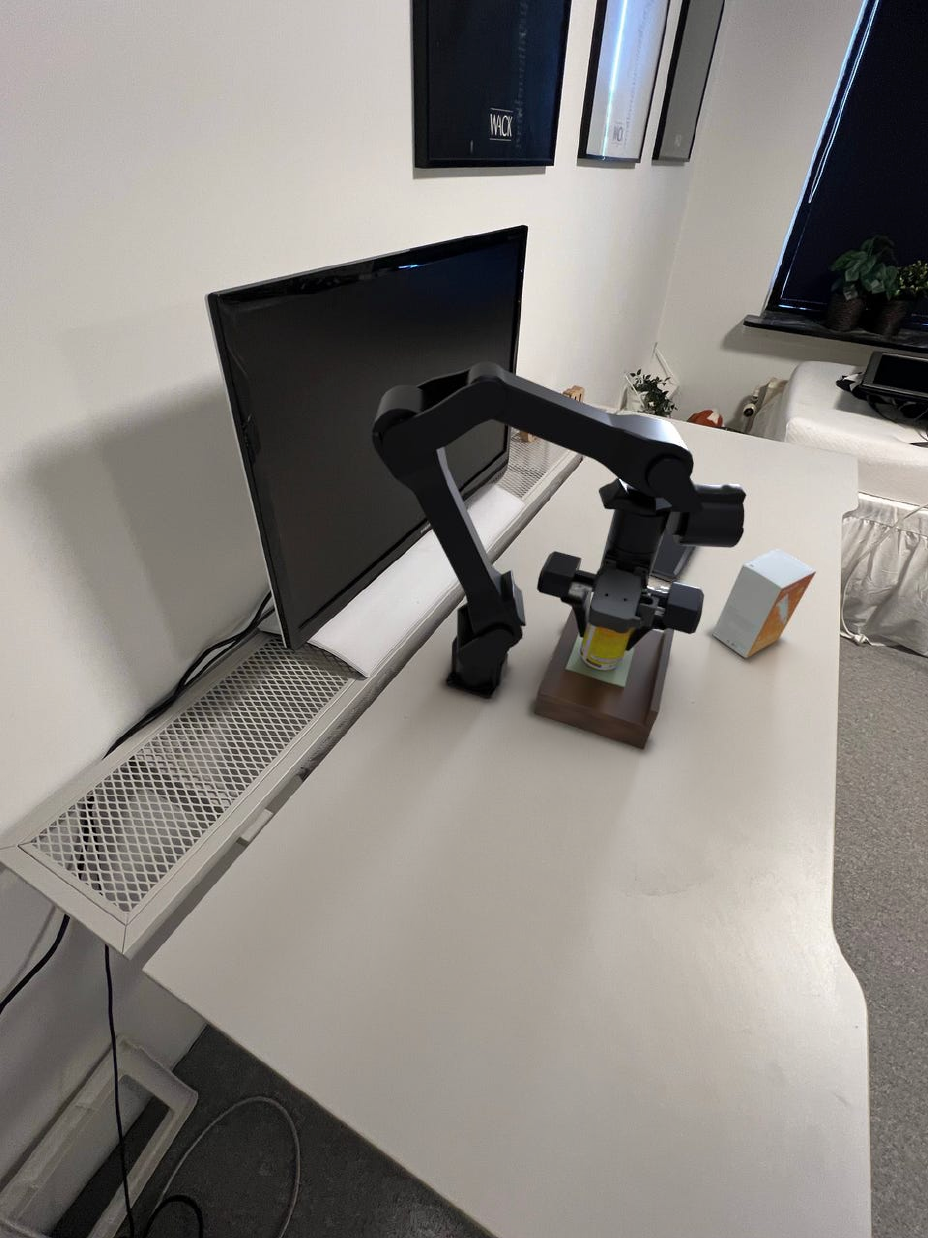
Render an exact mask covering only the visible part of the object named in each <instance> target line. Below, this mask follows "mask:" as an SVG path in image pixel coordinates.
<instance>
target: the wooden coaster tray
mask: <svg viewBox="0 0 928 1238" xmlns="http://www.w3.org/2000/svg"><path fill="white" fill-rule="evenodd" d="M674 634H675V630H673V629H669V628H667V629H666V630H664V631H661V630H657V629H653V630H651V631H649V632H648V633H647V634H646V635H644V636H643V637H642V638H641V639H640V640H639V641H638V642H637V643H636V644H635V645H634V647H633V648H632V649H631V650H630V651H625V653H624V656H623V659H622V662H621V663H620V665H619V666H618V667H616V668H614V669H611V670H598V669H595V668H593V667H591V666H589V665H588V664H586V663H585V662H584V660H583V659H582V657H581V654H580V648H581V644H582V640H583V638H581V637H580V635H579V631H578V626H577V621H576V617H575V614H574V611H573V609H572V608H571V609H570V612H569V614H568V617H567V619H566V622H565V624H564V627H563V628H562V631H561V634H560V636H559V639H558V641H557V644H556V646H555V649H554V651H553V653H552V655H551V658H550V660H549V663H548V666H547V669H546V670H545V673H544V676H543V678H542V680H541V682H540V685H539V688H538V691H537V694H536V699H535V703H534V709H533V714H536V715H539V716H542V717H545V718H548V719H551V720H554V721H557V722H560V723H563V724H566V725H568V726H572V727H575V728H578V729H581V730H584V731H587V732H590V733H593V734H596V735H599V736H602V737H605V738H609V739H612V740H614V741H617V742H620V743H623V744H626V745H630V746H632V747H636V748H638V749H642V750H644V749H645V748H646V744H647V742H648V739H649V737H650V735H651V732H652V730H653V728H654V725H655V723H656V720H657V718H658V715H659V713H660V708H661V702H662V697H663V692H664V688H665V687H664V686H665V681H666V678H667V677H666V676H667V671H668V665H669V660H670V655H671V650H672V644H673V639H674Z"/></svg>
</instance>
